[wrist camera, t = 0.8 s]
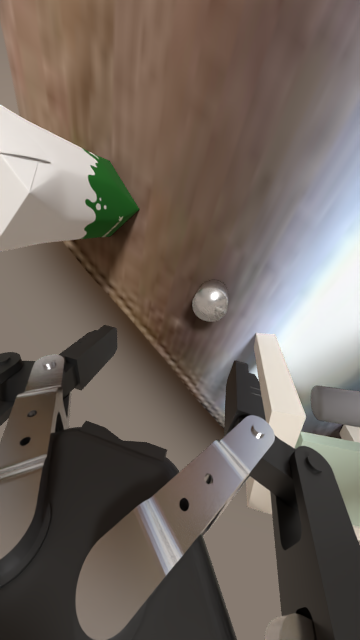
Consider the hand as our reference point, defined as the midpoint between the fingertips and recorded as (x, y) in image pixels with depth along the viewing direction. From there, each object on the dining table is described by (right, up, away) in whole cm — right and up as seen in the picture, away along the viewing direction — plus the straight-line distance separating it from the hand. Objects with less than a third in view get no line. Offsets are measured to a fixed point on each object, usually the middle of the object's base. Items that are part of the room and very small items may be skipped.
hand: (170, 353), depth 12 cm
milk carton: (-10, +20, +16) cm, 28 cm away
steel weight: (+6, +6, +19) cm, 21 cm away
